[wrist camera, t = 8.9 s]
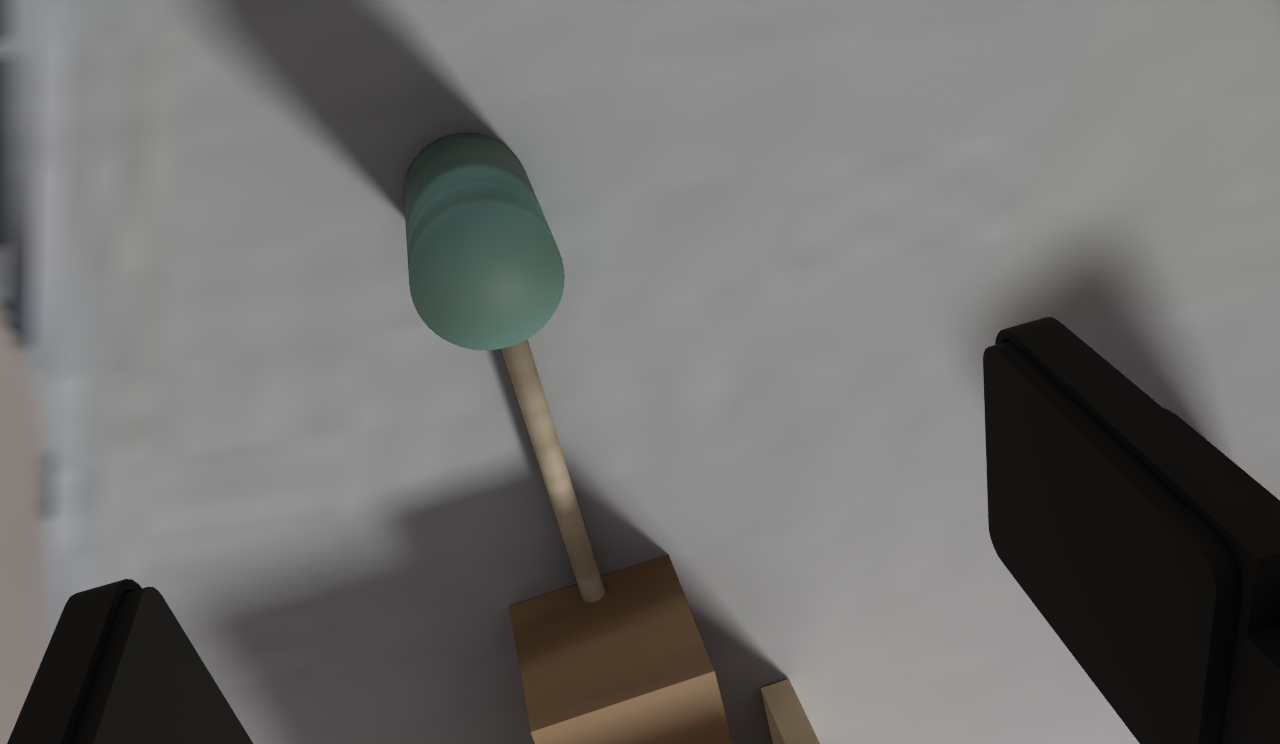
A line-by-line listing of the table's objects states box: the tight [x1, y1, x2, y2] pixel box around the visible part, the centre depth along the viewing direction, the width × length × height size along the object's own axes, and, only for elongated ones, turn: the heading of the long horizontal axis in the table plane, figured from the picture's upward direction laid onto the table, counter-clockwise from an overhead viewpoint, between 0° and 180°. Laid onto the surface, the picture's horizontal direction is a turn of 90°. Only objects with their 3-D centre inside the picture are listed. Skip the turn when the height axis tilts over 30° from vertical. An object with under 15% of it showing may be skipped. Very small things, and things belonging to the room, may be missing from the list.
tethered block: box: [404, 133, 733, 744], centre depth 26 cm, size 19×5×6 cm, turn 13°
